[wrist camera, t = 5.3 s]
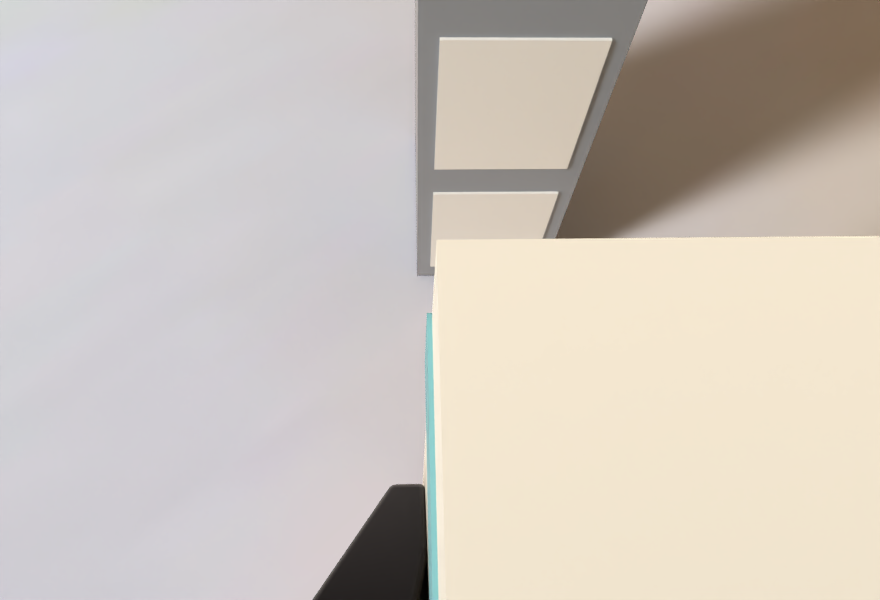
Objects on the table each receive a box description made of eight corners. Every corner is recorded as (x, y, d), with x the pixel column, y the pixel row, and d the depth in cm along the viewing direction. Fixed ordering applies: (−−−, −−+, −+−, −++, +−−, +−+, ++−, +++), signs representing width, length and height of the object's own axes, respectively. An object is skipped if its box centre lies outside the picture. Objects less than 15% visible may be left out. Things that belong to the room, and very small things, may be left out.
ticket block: (541, 276, 17) (802, -389, 6) (417, 277, 17) (419, -401, 5) (529, 136, 19) (712, -609, 7) (415, 137, 18) (413, -622, 7)
